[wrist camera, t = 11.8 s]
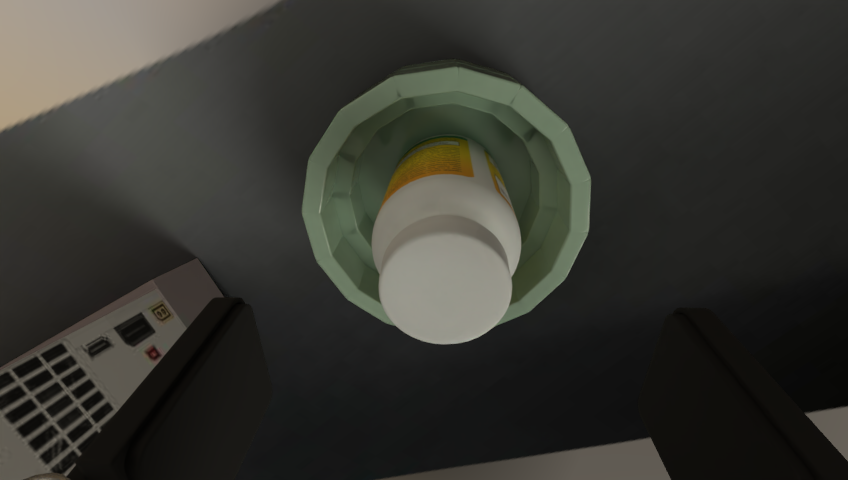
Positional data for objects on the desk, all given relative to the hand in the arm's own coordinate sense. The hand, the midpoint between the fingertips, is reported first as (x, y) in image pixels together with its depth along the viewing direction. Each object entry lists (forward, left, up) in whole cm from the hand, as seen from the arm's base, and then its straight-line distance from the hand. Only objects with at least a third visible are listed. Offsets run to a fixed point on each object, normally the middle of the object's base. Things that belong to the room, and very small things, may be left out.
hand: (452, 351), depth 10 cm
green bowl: (0, 0, -13) cm, 13 cm away
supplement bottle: (0, 0, -13) cm, 13 cm away
